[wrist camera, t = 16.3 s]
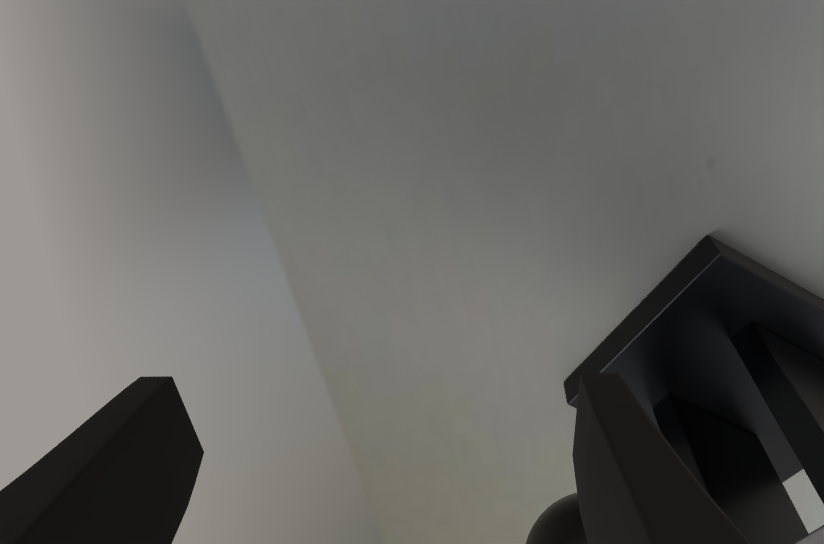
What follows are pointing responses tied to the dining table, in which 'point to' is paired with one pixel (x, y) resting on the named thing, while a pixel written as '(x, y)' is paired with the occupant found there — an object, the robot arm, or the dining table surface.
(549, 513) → the lever
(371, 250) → the dining table surface
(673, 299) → the bracket
